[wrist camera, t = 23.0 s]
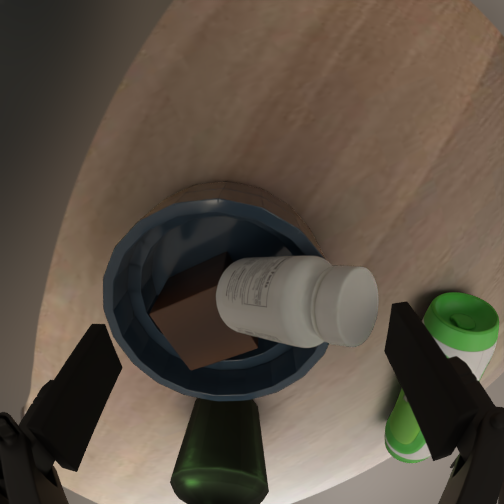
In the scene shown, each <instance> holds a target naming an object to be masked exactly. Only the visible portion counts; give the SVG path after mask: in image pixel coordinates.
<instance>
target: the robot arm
mask: <svg viewBox="0 0 504 504" xmlns="http://www.w3.org/2000/svg"><path fill="white" fill-rule="evenodd" d="M384 352H385V354H386V356H387V358H388V360H389V362H390V364H391V366H392V368H393V370H394V372H395V374H396V376H397V379H398V381H399V383H400V385H401V387H402V389H403V391H404V394H405V396H406V398H407V400H408V402H409V405H410V407H411V409H412V411H413V414H414V416H415V418H416V421H417V423H418V425H419V428H420V430H421V432H422V435H423V437H424V439H425V442H426V444H427V447H428V449H429V452H430V454H431V456H432V459H433V461H435V460H438V459H441V458H444V457H446V456H449V455H451V454H452V452H453V451H454V449H455V448H456V446H457V448H458V450H459V452H460V454H459V455H458V457H457V458H456V459H455V461H454V462H453V463H452V465H451V467H450V468H453V466H454V468H453V470H452V472H451V475H450V478H449V480H448V483H447V485H446V487H445V490H444V492H443V494H442V496H441V499H440V501H439V503H438V504H496V503H497V500H498V497H499V500H498V504H504V408H503V407H496V406H495V405H494V404H493V402H492V401H491V399H490V397H489V396H488V394H487V393H486V391H485V390H484V388H483V387H482V385H481V384H480V382H479V381H477V378H476V376H475V375H474V373H473V374H472V370H471V369H470V368H469V366H468V365H467V363H466V362H464V361H463V360H462V359H460V358H459V357H457V356H454V357H451V358H447V357H446V355H445V354H444V352H443V351H442V349H441V348H440V347H439V345H438V344H437V342H436V341H435V339H434V338H433V336H432V335H431V334H430V332H429V331H428V329H427V328H426V327H425V325H424V324H423V322H422V321H421V320H420V318H419V317H418V316H417V314H416V313H415V311H414V310H413V309H412V307H411V306H410V305H409V303H408V302H401V303H394V304H392V308H391V315H390V322H389V328H388V334H387V340H386V345H385V350H384ZM121 370H122V365H121V363H120V361H119V358H118V356H117V353H116V351H115V349H114V346H113V344H112V341H111V339H110V336H109V334H108V331H107V328H106V326H105V324H92V325H91V326H90V327H89V329H88V330H87V332H86V333H85V335H84V336H83V337H82V339H81V340H80V342H79V343H78V345H77V346H76V348H75V349H74V350H73V352H72V353H71V355H70V356H69V358H68V359H67V361H66V362H65V364H64V365H63V367H62V369H61V370H60V372H59V373H58V375H57V376H56V378H55V379H54V380H50V381H49V382H47V383H46V384H45V385H44V386H43V387H42V388H41V390H40V391H39V393H38V395H37V397H36V398H35V399H34V401H33V404H31V406H30V407H29V409H28V411H27V412H26V414H25V416H24V417H23V419H22V420H21V422H20V424H19V426H18V425H17V423H16V422H15V421H14V419H13V418H12V417H11V415H9V414H8V413H5V412H2V413H0V504H69V503H68V501H67V498H66V496H65V493H64V490H63V488H62V485H61V482H60V479H59V477H58V474H57V471H56V469H55V467H54V466H53V464H54V461H55V460H56V461H57V463H58V464H59V465H60V466H61V467H62V468H65V469H68V470H72V471H75V472H77V471H78V468H79V466H80V463H81V461H82V458H83V456H84V453H85V451H86V448H87V446H88V444H89V441H90V439H91V436H92V434H93V432H94V429H95V427H96V425H97V422H98V420H99V418H100V416H101V413H102V411H103V409H104V407H105V404H106V402H107V400H108V398H109V395H110V393H111V391H112V389H113V387H114V385H115V382H116V380H117V378H118V376H119V374H120V372H121Z"/></svg>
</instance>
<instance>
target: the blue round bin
mask: <svg viewBox="0 0 504 504" xmlns="http://www.w3.org/2000/svg"><path fill="white" fill-rule="evenodd" d="M224 252H228V254H229V256H230V257H231V259H232V261H233V262H235V261H237V260H239V259H243V258H252V257H278V256H318V257H321V258H323V259H325V260H326V258H325V257H324V255H323V253H322V251H321V249H320V247H319V245H318V243H317V241H316V239H315V237H314V236H313V234H312V232H311V230H310V228H309V227H308V226H307V225H306V224H305V222H304V221H303V220H302V219H301V218H300V217H299V215H298V214H297V213H296V212H295V211H294V209H293V208H292V207H291V206H290V205H289V204H287V203H285V202H284V201H282V200H280V199H279V198H277V197H275V196H274V195H272V194H270V193H268V192H267V191H265V190H263V189H260V188H257V187H253V186H248V185H244V184H239V183H234V182H229V181H223V182H214V183H205V184H197V185H193V186H191V187H189V188H186V189H184V190H182V191H180V192H178V193H176V194H174V195H172V196H170V197H168V198H166V199H164V200H163V201H162V202H161V203H160V204H158V205H157V206H156V207H155V208H154V209H152V210H151V211H150V212H149V213H148V214H146V215H145V216H144V217H143V218H142V219H140V220H139V221H138V222H137V223H136V224H135V225H134V226H133V228H132V229H131V230H130V231H129V232H128V233H127V234H126V235H125V236H124V237H123V238H122V240H121V241H120V242H119V243H118V244H117V245H116V246H115V248H114V250H113V253H112V255H111V258H110V261H109V263H108V266H107V269H106V271H105V274H104V277H103V307H104V312H105V315H106V318H107V321H108V323H109V326H110V329H111V332H112V334H113V337H114V338H115V340H116V341H117V343H118V344H119V346H120V347H121V348H122V350H123V351H124V352H125V354H126V355H127V356H128V358H129V359H130V360H131V362H133V364H134V365H136V366H137V367H138V368H139V369H140V370H142V371H143V372H144V373H146V374H147V375H148V376H149V377H151V378H152V379H153V380H155V381H156V382H157V383H159V384H161V385H164V386H166V387H168V388H170V389H172V390H174V391H177V392H179V393H181V394H183V395H187V396H192V397H196V398H201V399H207V400H212V401H246V400H251V399H255V398H259V397H262V396H266V395H270V394H273V393H276V392H279V391H280V390H282V389H284V388H286V387H287V386H289V385H291V384H292V383H294V382H296V381H297V380H299V379H301V378H302V377H303V376H305V375H306V374H307V373H308V371H309V370H310V369H311V368H312V367H313V366H314V365H315V364H316V363H317V362H318V361H319V360H320V359H321V357H322V356H323V355H324V354H325V352H326V349H327V347H328V345H329V343H327V342H323V343H321V344H320V345H317V346H315V347H311V348H301V347H296V346H291V345H287V344H284V343H279V342H275V341H271V340H267V339H263V338H259V337H258V348H257V349H254V350H251V351H248V352H246V353H243V354H240V355H237V356H234V357H231V358H228V359H225V360H222V361H219V362H216V363H213V364H210V365H207V366H204V367H201V368H198V369H194V370H190V369H189V368H188V366H187V365H186V364H185V363H184V361H183V360H182V359H181V357H180V356H179V355H178V353H177V352H176V351H175V350H174V348H173V347H172V346H171V344H170V343H169V341H168V340H167V339H166V337H165V336H164V335H163V333H162V332H161V331H160V329H159V328H158V326H157V325H156V324H155V322H154V321H153V319H152V318H151V316H150V315H149V313H150V311H151V309H152V307H153V306H154V304H155V302H156V300H157V298H158V296H159V294H160V292H161V290H162V289H163V287H164V285H165V283H166V281H167V279H168V278H170V277H172V276H174V275H176V274H178V273H181V272H183V271H185V270H187V269H189V268H191V267H194V266H196V265H198V264H200V263H202V262H205V261H207V260H209V259H211V258H213V257H216V256H218V255H220V254H222V253H224Z"/></svg>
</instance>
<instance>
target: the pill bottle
mask: <svg viewBox="0 0 504 504" xmlns="http://www.w3.org/2000/svg"><path fill="white" fill-rule="evenodd" d="M216 303H217V308H218V311H219V314H220V316H221V318H222V320H223V321H224V322H225V324H226V325H227V326H228V327H230V328H231V329H233V330H235V331H237V332H240V333H244V334H247V335H251V336H255V337H259V338H263V339H267V340H271V341H275V342H279V343H284V344H287V345H291V346H296V347H301V348H311V347H315V346H317V345H320V344H321V343H323V342H327V343H329V344H333V345H340V346H347V347H357V346H359V345H361V344H363V343H364V342H365V341H366V340H367V338H368V337H369V335H370V334H371V332H372V330H373V327H374V325H375V322H376V318H377V313H378V289H377V284H376V281H375V279H374V277H373V275H372V273H371V272H370V271H369V270H368V269H367V268H365V267H362V266H343V265H340V266H337V265H336V266H332V265H331V264H330V263H329V262H328V261H327V260H325V259H323V258H321V257H318V256H278V257H252V258H243V259H239V260H237V261H235V262H233V263H232V264H231V265H230V266H229V267H228V268H227V269H226V270H225V271H224V272H223V274H222V276H221V278H220V280H219V283H218V286H217V291H216Z"/></svg>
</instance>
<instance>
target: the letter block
mask: <svg viewBox="0 0 504 504" xmlns="http://www.w3.org/2000/svg"><path fill="white" fill-rule="evenodd" d="M232 263H233V261H232V259H231V257H230V256H229V254H228V252H224V253H222V254H220V255H218V256H216V257H213V258H211V259H209V260H207V261H205V262H202V263H200V264H198V265H196V266H194V267H191V268H189V269H187V270H185V271H183V272H181V273H178V274H176V275H174V276H172V277H170V278H168V279H167V281H166V283H165V285H164V287H163V289H162V290H161V292H160V294H159V296H158V298H157V300H156V302H155V304H154V306H153V307H152V309H151V311H150V313H149V315H150V316H151V318H152V319H153V321H154V322H155V324H156V325H157V326H158V328H159V329H160V331H161V332H162V333H163V335H164V336H165V337H166V339H167V340H168V341H169V343H170V344H171V346H172V347H173V348H174V350H175V351H176V352H177V353H178V355H179V356H180V357H181V359H182V360H183V361H184V363H185V364H186V365H187V366H188V368H189V369H190V370H194V369H198V368H201V367H204V366H207V365H210V364H213V363H216V362H219V361H222V360H225V359H228V358H231V357H234V356H237V355H240V354H243V353H246V352H248V351H251V350H254V349H257V348H258V337H255V336H251V335H247V334H244V333H240V332H237V331H235V330H233V329H231V328H230V327H228V326H227V325H226V324H225V322H224V321H223V320H222V318H221V316H220V314H219V311H218V308H217V303H216V291H217V286H218V283H219V280H220V278H221V276H222V274H223V272H224V271H225V270H226V269H227V268H228V267H229V266H230V265H231V264H232Z"/></svg>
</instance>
